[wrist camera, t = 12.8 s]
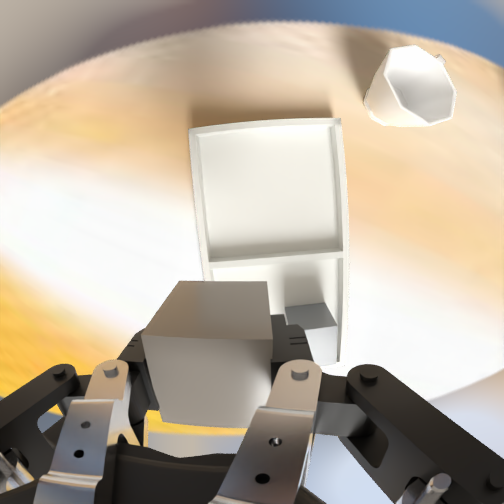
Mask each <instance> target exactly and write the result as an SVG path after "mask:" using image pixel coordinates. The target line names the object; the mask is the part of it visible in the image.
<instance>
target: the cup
mask: <svg viewBox="0 0 504 504" xmlns="http://www.w3.org/2000/svg"><path fill="white" fill-rule="evenodd" d="M445 62H446V61H445V60H444V58H443V57H442V56H441V55H440V54H438V55H436V56H432V55H431V54H429V53H428V52H426V51H425V50H423V49H422V48H420V47H419V46H417V45H408V46H402V47H396V48H390V50H389V52H388V53H387V55H386V57H385V58H384V60H383V62H382V64H381V65H380V67H379V68H378V70H377V72H376V73H375V75H374V78H373V81H372V84H371V87H370V88H369V89H367V92H366V95H365V98H364V101H363V104H364V106H365V108H366V110H367V112H368V115H369V117H370V119H372V120H374V121H376V122H378V123H380V124H382V125H383V126H388V125H392V126H398V127H409V126H431V125H434V124H437V123H440V122H443V121H446V120H449V119H452V117H453V112H454V106H455V100H456V94H457V91H456V89H455V87H454V85H453V83H452V81H451V79H450V77H449V75H448V73H447V71H446V69H445V67H444V64H445Z"/></svg>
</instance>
